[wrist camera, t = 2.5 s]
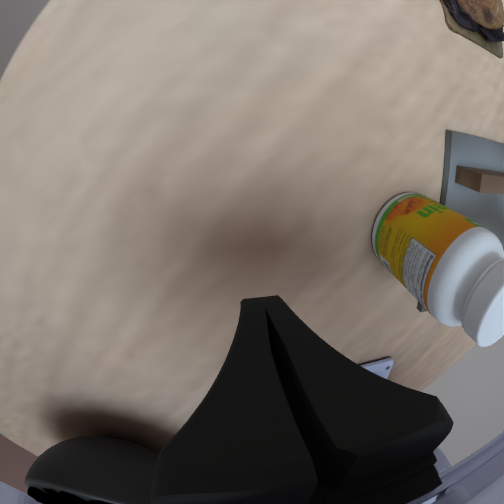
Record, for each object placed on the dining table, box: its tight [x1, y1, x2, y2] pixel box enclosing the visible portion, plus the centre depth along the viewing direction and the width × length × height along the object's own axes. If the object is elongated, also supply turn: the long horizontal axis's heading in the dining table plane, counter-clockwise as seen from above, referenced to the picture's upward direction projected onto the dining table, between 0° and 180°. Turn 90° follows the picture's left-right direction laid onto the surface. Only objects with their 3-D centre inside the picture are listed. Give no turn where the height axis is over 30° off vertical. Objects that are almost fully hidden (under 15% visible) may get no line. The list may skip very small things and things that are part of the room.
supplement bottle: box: [372, 192, 504, 347], centre depth 13 cm, size 5×5×10 cm
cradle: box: [417, 130, 504, 312], centre depth 17 cm, size 14×14×3 cm
